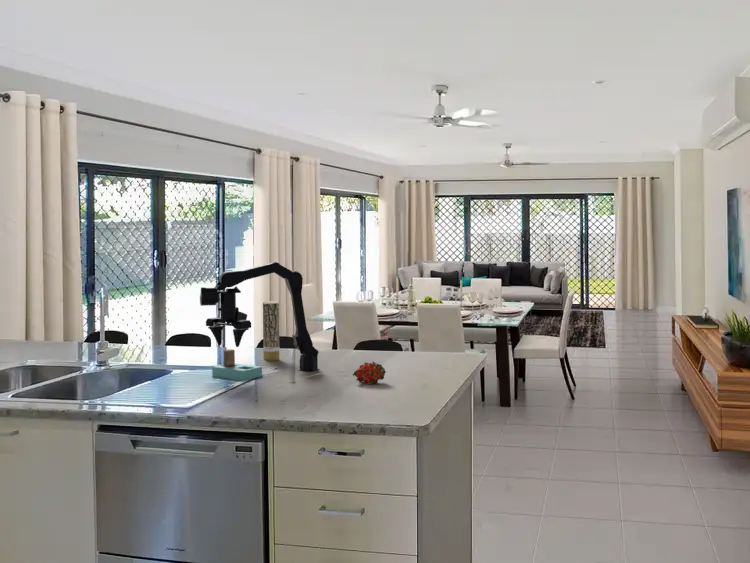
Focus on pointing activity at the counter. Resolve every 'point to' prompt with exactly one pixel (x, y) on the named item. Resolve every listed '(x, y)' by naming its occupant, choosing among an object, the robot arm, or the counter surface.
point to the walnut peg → (229, 358)
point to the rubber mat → (268, 371)
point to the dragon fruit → (370, 373)
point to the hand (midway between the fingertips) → (228, 345)
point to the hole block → (237, 371)
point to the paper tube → (271, 330)
